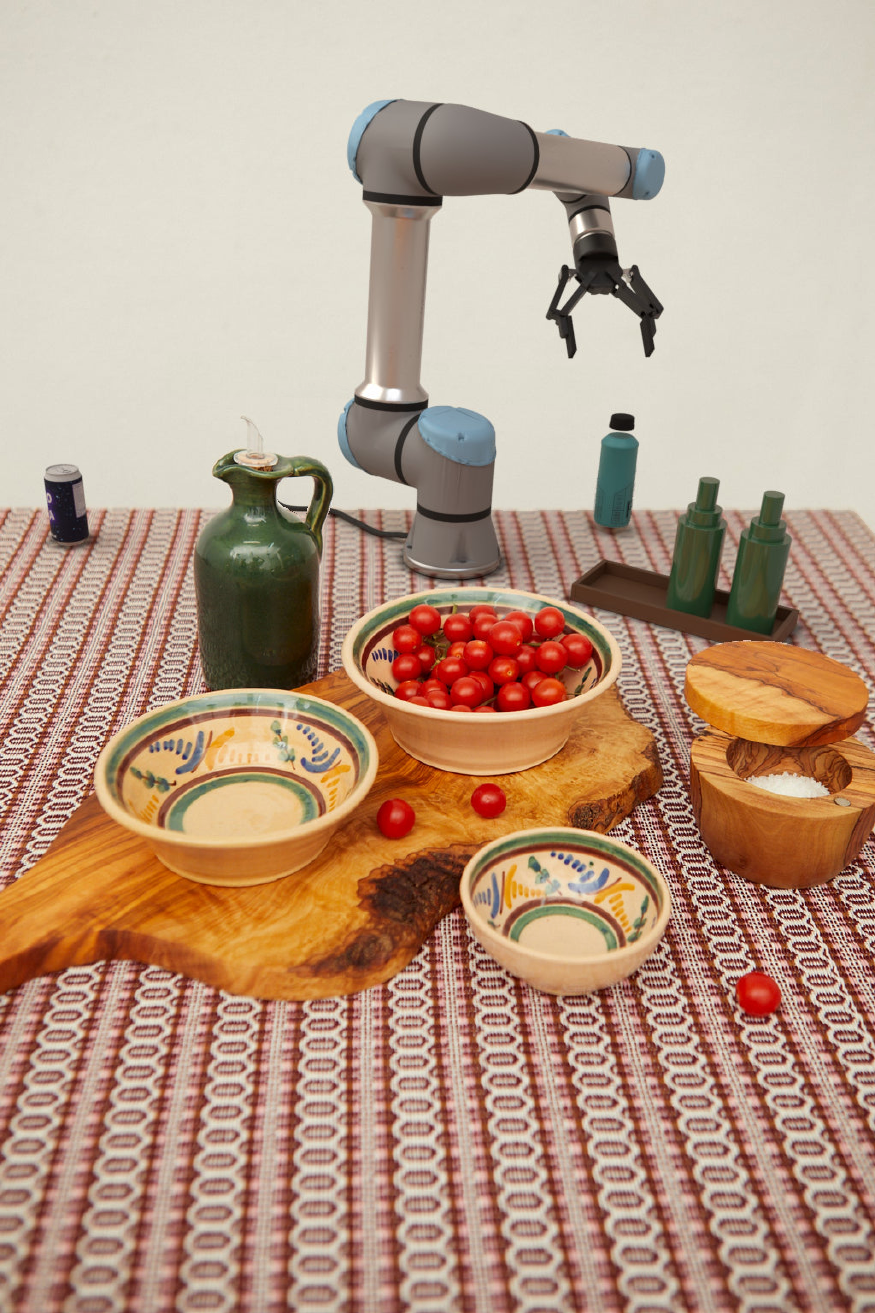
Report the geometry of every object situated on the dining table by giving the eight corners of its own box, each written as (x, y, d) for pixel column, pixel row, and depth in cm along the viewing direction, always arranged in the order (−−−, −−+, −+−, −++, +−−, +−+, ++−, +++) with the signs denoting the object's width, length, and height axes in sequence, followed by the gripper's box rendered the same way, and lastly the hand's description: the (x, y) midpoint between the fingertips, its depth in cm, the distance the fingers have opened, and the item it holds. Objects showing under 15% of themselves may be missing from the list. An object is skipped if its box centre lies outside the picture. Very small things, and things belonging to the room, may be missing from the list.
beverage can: (74, 531, 178) (65, 460, 173) (97, 540, 176) (88, 468, 170) (45, 541, 174) (34, 469, 169) (68, 550, 172) (58, 477, 166)
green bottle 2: (717, 629, 155) (741, 495, 145) (733, 612, 160) (757, 481, 150) (764, 642, 151) (792, 506, 142) (779, 624, 157) (806, 492, 147)
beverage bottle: (628, 538, 185) (643, 422, 175) (589, 533, 186) (602, 418, 176) (630, 524, 191) (645, 411, 181) (592, 520, 192) (604, 407, 182)
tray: (569, 599, 163) (571, 583, 162) (602, 573, 172) (603, 558, 170) (772, 657, 149) (775, 640, 148) (796, 626, 158) (799, 609, 157)
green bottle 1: (657, 613, 159) (677, 481, 149) (674, 596, 164) (694, 468, 154) (702, 625, 156) (725, 491, 146) (718, 608, 161) (741, 478, 151)
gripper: (655, 257, 195) (674, 364, 189) (519, 257, 191) (534, 366, 185) (669, 230, 188) (690, 340, 182) (528, 230, 183) (545, 342, 178)
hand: (611, 353), depth 184 cm, fingers open, 13 cm apart
